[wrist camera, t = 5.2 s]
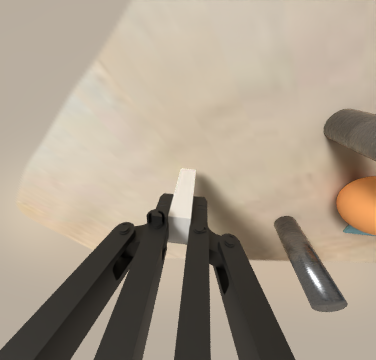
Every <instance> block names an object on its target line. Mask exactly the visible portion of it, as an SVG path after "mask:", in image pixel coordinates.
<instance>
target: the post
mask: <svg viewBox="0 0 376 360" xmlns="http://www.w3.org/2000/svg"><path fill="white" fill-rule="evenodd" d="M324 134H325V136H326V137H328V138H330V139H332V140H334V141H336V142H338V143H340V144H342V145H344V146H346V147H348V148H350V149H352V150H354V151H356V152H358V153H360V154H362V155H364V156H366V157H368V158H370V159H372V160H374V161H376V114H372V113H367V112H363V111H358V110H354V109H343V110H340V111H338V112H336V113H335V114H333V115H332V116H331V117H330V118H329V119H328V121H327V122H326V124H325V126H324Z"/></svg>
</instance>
